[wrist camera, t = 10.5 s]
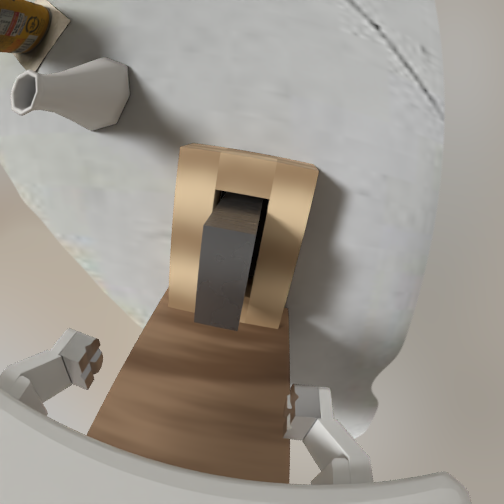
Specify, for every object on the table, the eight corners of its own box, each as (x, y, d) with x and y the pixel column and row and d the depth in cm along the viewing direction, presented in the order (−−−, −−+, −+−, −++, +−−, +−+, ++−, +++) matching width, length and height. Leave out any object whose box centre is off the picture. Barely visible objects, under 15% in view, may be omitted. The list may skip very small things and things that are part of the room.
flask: (139, 57, 20) (71, 34, 11) (124, 134, 23) (52, 148, 14) (77, 58, 20) (4, 49, 11) (65, 128, 23) (-9, 143, 14)
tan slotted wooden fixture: (181, 141, 23) (-77, 248, 3) (325, 167, 23) (494, 380, 3) (169, 315, 31) (83, 504, 11) (279, 338, 31) (269, 549, 11)
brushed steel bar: (228, 189, 25) (203, 225, 17) (263, 196, 25) (256, 235, 17) (217, 262, 28) (193, 322, 20) (249, 269, 28) (237, 331, 20)
